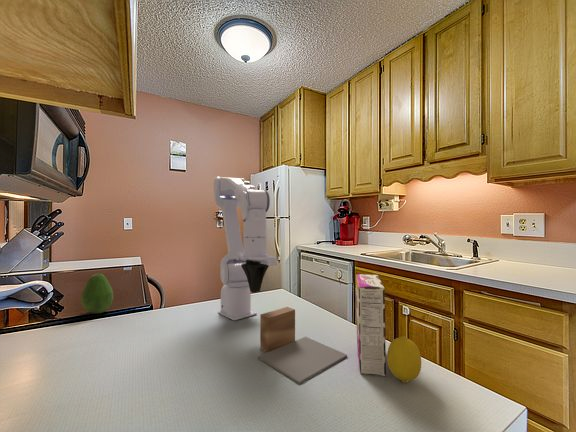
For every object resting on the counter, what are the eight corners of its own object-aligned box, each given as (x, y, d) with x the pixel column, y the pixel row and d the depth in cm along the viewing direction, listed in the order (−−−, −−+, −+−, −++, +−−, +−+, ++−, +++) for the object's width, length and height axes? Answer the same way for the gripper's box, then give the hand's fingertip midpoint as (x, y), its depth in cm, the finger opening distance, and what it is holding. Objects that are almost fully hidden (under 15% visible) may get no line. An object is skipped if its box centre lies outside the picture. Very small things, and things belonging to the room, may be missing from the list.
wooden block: (259, 348, 61) (259, 314, 61) (286, 337, 67) (286, 306, 67) (268, 353, 59) (268, 317, 59) (295, 341, 65) (295, 309, 65)
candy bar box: (355, 347, 62) (355, 273, 62) (379, 349, 61) (378, 274, 61) (358, 375, 51) (357, 285, 51) (386, 378, 50) (386, 286, 50)
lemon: (383, 373, 51) (382, 329, 51) (413, 373, 51) (413, 330, 51) (393, 391, 46) (393, 343, 46) (427, 392, 46) (427, 343, 46)
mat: (258, 358, 57) (258, 356, 57) (305, 338, 66) (305, 336, 66) (299, 384, 48) (299, 381, 48) (347, 356, 57) (347, 354, 57)
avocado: (98, 308, 89) (98, 270, 89) (119, 309, 87) (119, 271, 87) (74, 317, 81) (74, 276, 81) (96, 318, 79) (97, 277, 79)
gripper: (226, 237, 72) (226, 289, 72) (259, 239, 62) (259, 300, 61) (248, 235, 77) (248, 284, 77) (282, 237, 66) (283, 294, 66)
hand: (255, 291), depth 69 cm, fingers closed
